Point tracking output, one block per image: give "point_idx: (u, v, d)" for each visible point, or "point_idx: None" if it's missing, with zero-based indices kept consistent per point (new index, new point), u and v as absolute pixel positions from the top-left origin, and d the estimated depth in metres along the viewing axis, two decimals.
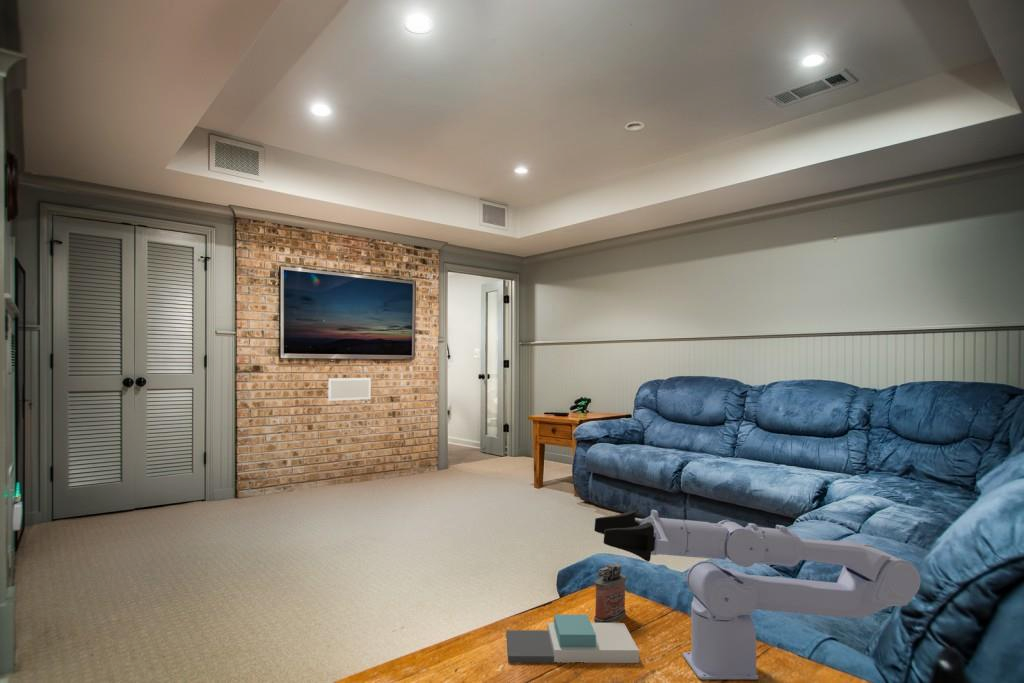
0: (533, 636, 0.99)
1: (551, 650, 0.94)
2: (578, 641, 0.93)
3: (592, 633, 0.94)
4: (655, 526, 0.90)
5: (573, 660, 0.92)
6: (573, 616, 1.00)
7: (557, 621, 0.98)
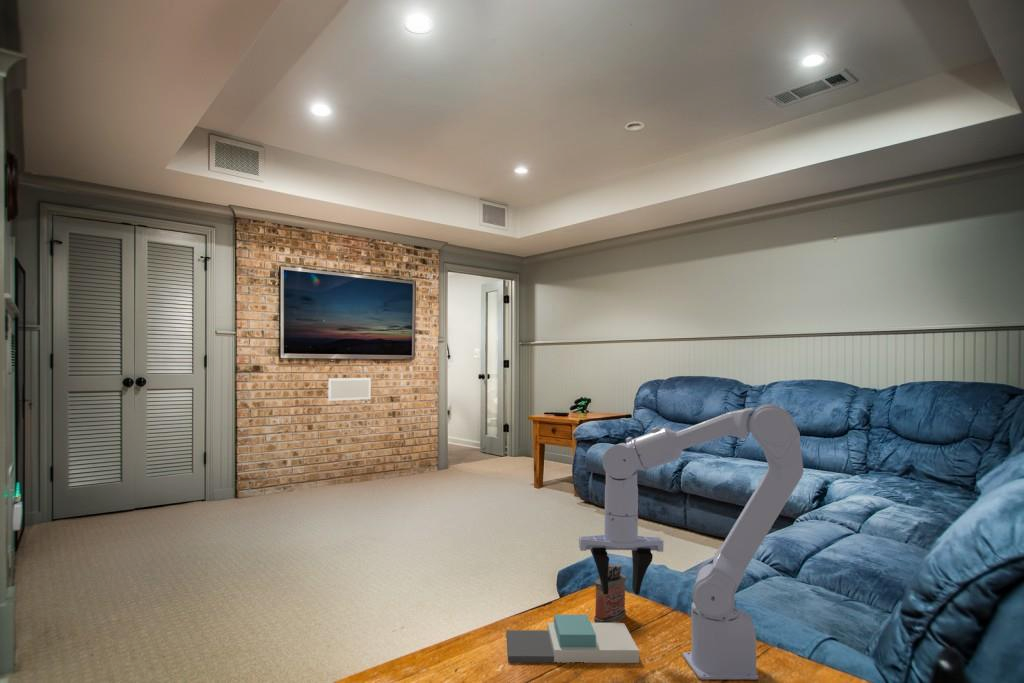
0: (533, 636, 0.99)
1: (551, 650, 0.94)
2: (578, 641, 0.93)
3: (592, 633, 0.94)
4: None
5: (573, 660, 0.92)
6: (573, 616, 1.00)
7: (557, 621, 0.98)
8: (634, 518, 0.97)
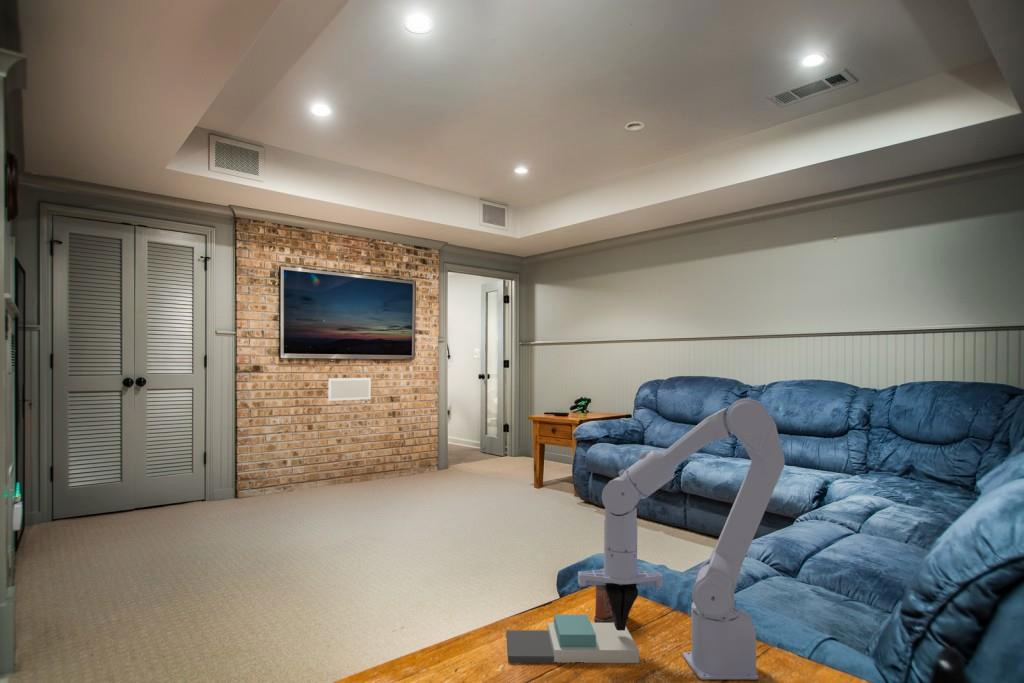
0: (533, 636, 0.99)
1: (551, 650, 0.94)
2: (578, 641, 0.93)
3: (592, 633, 0.94)
4: None
5: (573, 660, 0.92)
6: (573, 616, 1.00)
7: (557, 621, 0.98)
8: (633, 554, 0.96)
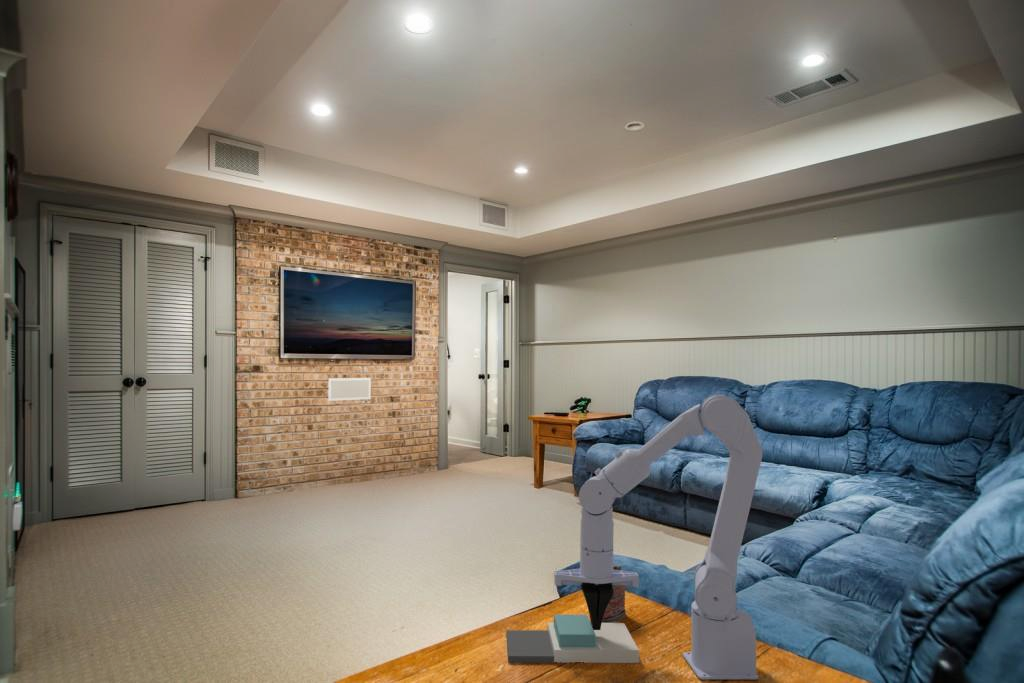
0: (533, 636, 0.99)
1: (551, 650, 0.94)
2: (578, 641, 0.93)
3: (592, 633, 0.94)
4: None
5: (573, 660, 0.92)
6: (573, 616, 1.00)
7: (557, 621, 0.98)
8: (609, 553, 0.96)
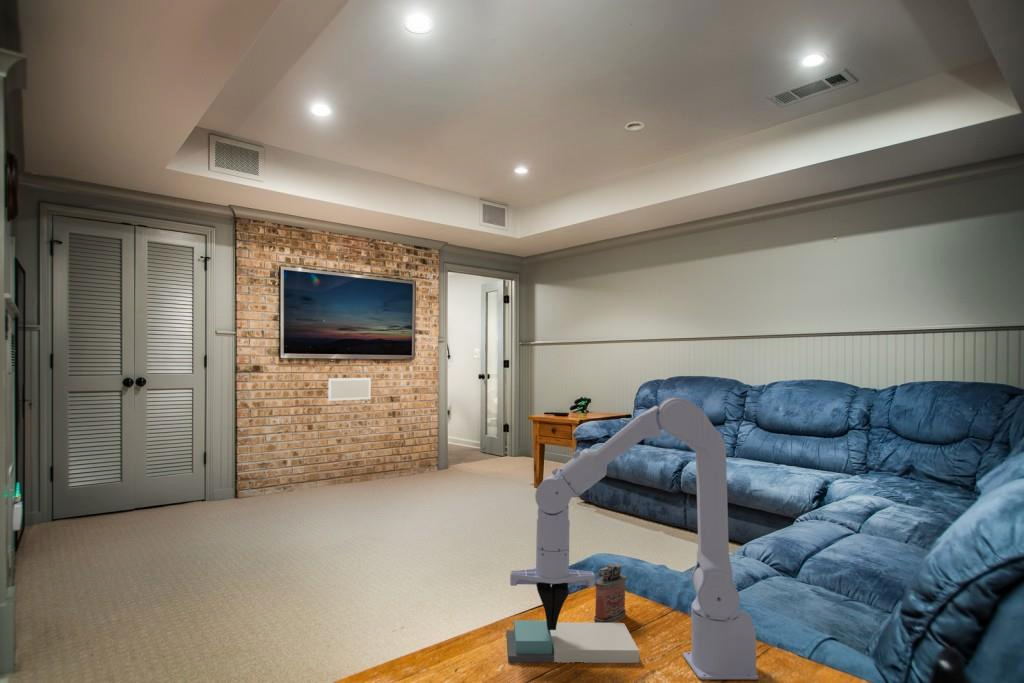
0: None
1: None
2: (534, 647, 0.93)
3: (549, 639, 0.93)
4: None
5: (573, 660, 0.92)
6: (533, 622, 1.00)
7: (516, 627, 0.98)
8: (564, 553, 0.96)
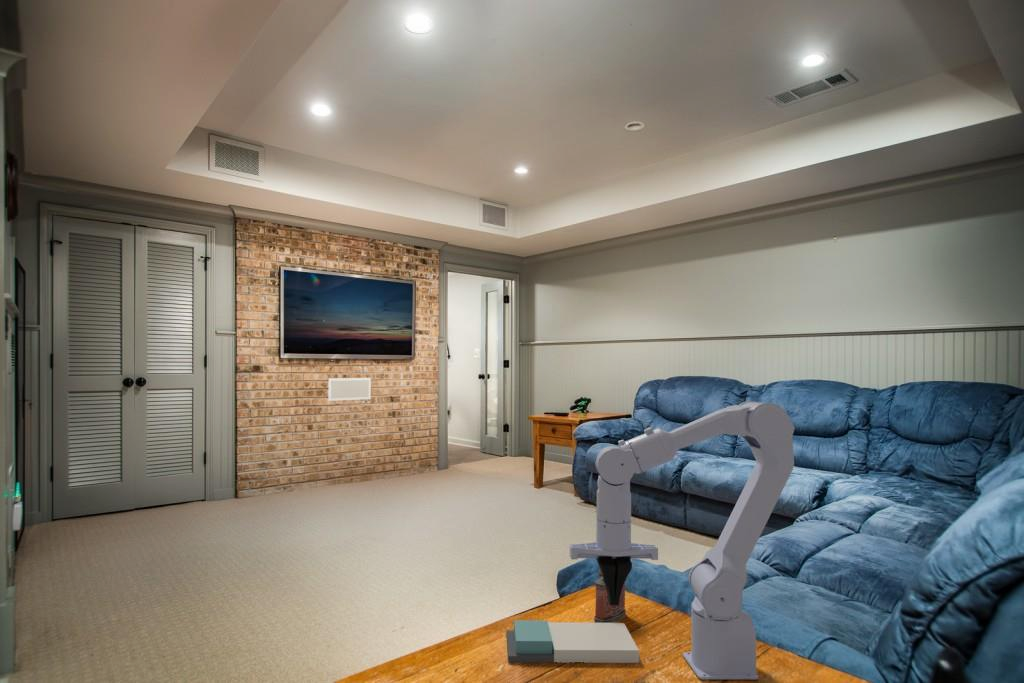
0: None
1: None
2: (534, 647, 0.93)
3: (549, 639, 0.93)
4: None
5: (573, 660, 0.92)
6: (533, 622, 1.00)
7: (516, 627, 0.98)
8: (627, 525, 0.92)
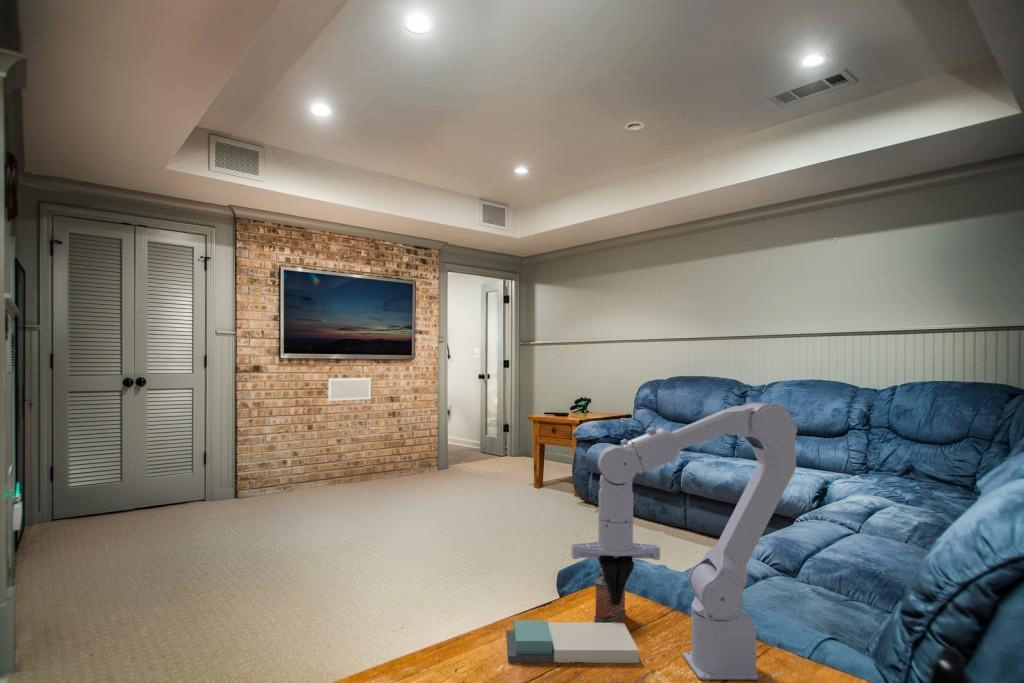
0: None
1: None
2: (534, 647, 0.93)
3: (549, 639, 0.93)
4: None
5: (573, 660, 0.92)
6: (533, 622, 1.00)
7: (516, 627, 0.98)
8: (629, 525, 0.92)
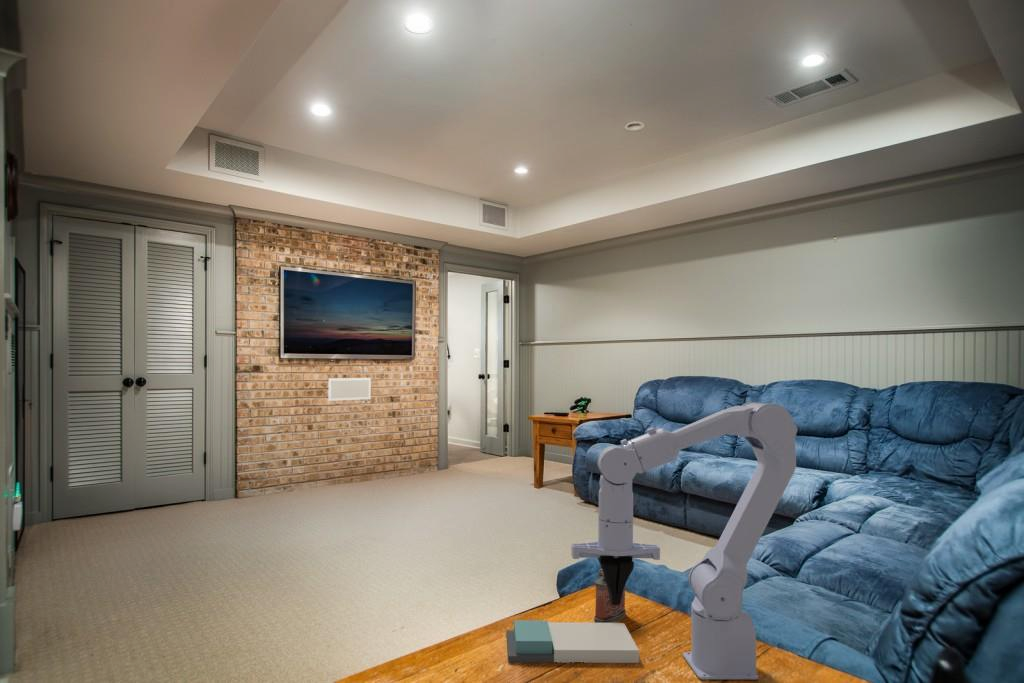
0: None
1: None
2: (534, 647, 0.93)
3: (549, 639, 0.93)
4: None
5: (573, 660, 0.92)
6: (533, 622, 1.00)
7: (516, 627, 0.98)
8: (629, 525, 0.92)
